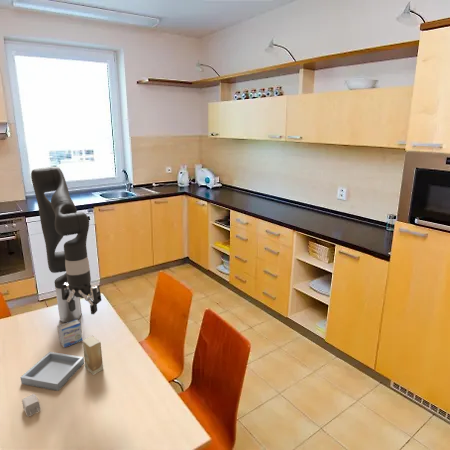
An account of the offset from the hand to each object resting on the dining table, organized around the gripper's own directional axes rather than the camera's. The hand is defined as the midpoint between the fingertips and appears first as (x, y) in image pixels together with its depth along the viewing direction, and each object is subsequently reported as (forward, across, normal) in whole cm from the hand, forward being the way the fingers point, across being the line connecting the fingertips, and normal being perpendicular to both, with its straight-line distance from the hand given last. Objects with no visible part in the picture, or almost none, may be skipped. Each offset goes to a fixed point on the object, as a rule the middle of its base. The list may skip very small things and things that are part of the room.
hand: (83, 311), depth 126 cm
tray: (+24, +12, +5) cm, 28 cm away
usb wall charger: (+25, +6, +22) cm, 34 cm away
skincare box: (+25, -1, -1) cm, 25 cm away
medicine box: (+25, +18, -14) cm, 34 cm away
